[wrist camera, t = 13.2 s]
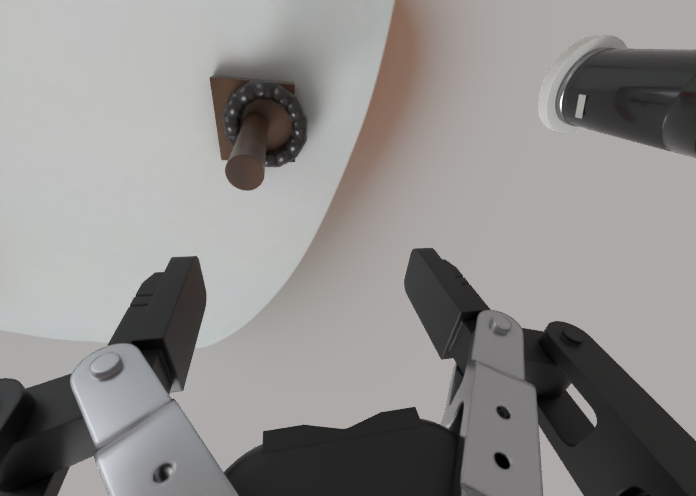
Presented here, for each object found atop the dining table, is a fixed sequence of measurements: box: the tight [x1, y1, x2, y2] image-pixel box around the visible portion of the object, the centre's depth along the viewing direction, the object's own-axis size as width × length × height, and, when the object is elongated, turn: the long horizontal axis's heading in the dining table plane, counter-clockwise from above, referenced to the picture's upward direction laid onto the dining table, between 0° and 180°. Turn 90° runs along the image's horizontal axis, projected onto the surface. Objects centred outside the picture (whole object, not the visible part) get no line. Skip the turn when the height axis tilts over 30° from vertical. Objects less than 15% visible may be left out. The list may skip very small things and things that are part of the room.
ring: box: [222, 80, 307, 167], centre depth 31 cm, size 8×8×2 cm
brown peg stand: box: [210, 76, 295, 190], centre depth 26 cm, size 8×8×16 cm
